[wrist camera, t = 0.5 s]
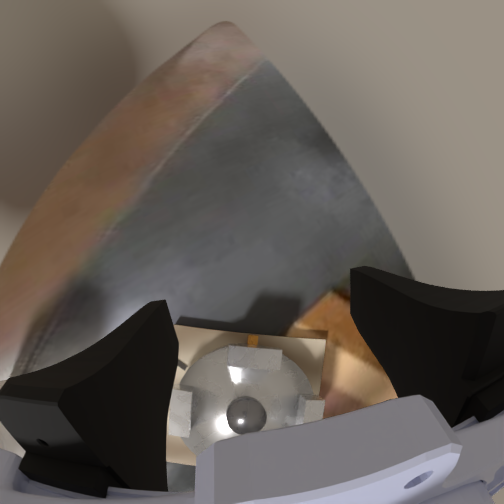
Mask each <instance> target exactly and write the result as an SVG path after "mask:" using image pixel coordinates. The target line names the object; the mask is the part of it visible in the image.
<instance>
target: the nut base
mask: <svg viewBox="0 0 504 504" xmlns="http://www.w3.org/2000/svg"><path fill="white" fill-rule="evenodd" d="M174 329H175V332H176V335H177V338H178V341H179V355H178V366H177V371H176V376H175V380H174V384H175V383H176V384H179V383H180V381H181V379H182V378H183V376H184V374H185V373H186V371H187V370H188V369H189V368H190V366H191V365H192V364H193V363H194V362H195V361H197V360H198V359H199V358H200V357H202V356H203V355H205V354H206V353H208V352H210V351H212V350H214V349H216V348H219V347H222V346H226V345H228V343H235V344H238V343H247V337H248V334H249V333H239V332H230V331H221V330H213V329H205V328H198V327H190V326H183V325H176V324H174ZM251 335H258V345H262V346H267V347H278V348H280V349H281V350H282V354H283V355H285V356H286V357H288V358H289V359H291V360H292V361H293V362H294V363H296V364H297V365H298V366H299V367H300V369H301V370H302V371H303V372H304V374H305V375H306V377H307V378H308V380H309V382H310V384H311V387H312V390H313V393H314V394H318V395H319V392H320V385H321V377H322V369H323V361H324V353H325V343H326V340H325V339H312V338H296V337H283V336H270V335H259V334H251ZM169 414H170V405H169V410H168V418H167V436H166V461H168V462H174V463H180V464H187V465H195V466H196V455H195V454H194V453H193V452H192V451H191V450H190V449H189V448H188V447H187V446H186V445H185V443H184V442H183V440H182V439H181V437H180V436H173V435H168V433H169Z"/></svg>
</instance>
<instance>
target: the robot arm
mask: <svg viewBox="0 0 504 504" xmlns="http://www.w3.org/2000/svg"><path fill="white" fill-rule="evenodd" d="M350 284H351V301H350V314H351V316H352V318H353V320H354V323H355V325H356V327H357V329H358V331H359V333H360V334H361V336H362V337H363V339H364V340H365V342H366V343H367V345H368V346H369V348H370V349H371V351H372V352H373V354H374V355H375V357H376V358H377V360H378V361H379V363H380V364H381V366H382V367H383V369H384V370H385V372H386V374H387V375H388V377H389V379H390V381H391V383H392V385H393V387H394V389H395V391H396V394H397V396H398V398H395V399H390V400H387V401H384V402H381V403H378V404H375V405H372V406H369V407H365V408H362V409H359V410H355V411H352V412H348V413H344V414H341V415H337V416H333V417H329V418H325V419H321V420H316V421H312V422H308V423H303V424H298V425H293V426H288V427H282V428H277V429H271V430H264V431H258V432H251V433H246V434H242V435H238V436H235V437H231V438H227V439H223V440H219V441H217V442H215V443H213V444H212V445H211V446H209V447H208V448H207V449H206V450H204V451H203V452H202V453H200V454H199V455H198V456H196V475H195V491H191V492H168V487H167V468H166V436H167V418H168V410H169V405H170V400H171V395H172V390H173V385H174V380H175V376H176V371H177V366H178V355H179V341H178V338H177V335H176V332H175V329H174V325H173V322H172V319H171V316H170V313H169V309H168V306H167V303H166V300H159V301H152V302H149V303H148V304H146V305H145V306H143V307H142V308H141V309H140V310H138V311H137V312H136V313H135V314H133V315H132V316H131V317H130V318H129V319H127V320H126V321H125V322H124V323H122V324H121V325H120V326H119V327H117V328H116V329H115V330H113V331H112V332H111V333H109V334H108V335H107V336H105V337H104V338H103V339H101V340H100V341H98V342H97V343H95V344H94V345H92V346H90V347H89V348H87V349H85V350H84V351H82V352H80V353H78V354H76V355H74V356H72V357H70V358H68V359H66V360H64V361H62V362H59V363H57V364H54V365H52V366H49V367H47V368H44V369H41V370H38V371H35V372H31V373H28V374H24V375H20V376H16V377H11V378H9V379H8V380H7V381H6V382H5V383H4V385H3V386H2V388H1V389H0V422H1V423H2V424H3V426H4V427H5V428H6V429H7V431H8V432H9V433H10V434H11V435H12V437H13V438H14V439H15V440H16V441H17V442H18V444H19V445H20V446H21V447H22V448H23V449H24V450H25V451H26V452H25V454H24V457H23V458H22V457H20V456H19V455H17V454H15V453H13V452H10V451H7V450H4V449H1V448H0V504H495V503H494V501H493V499H492V496H493V495H494V494H496V493H497V492H498V491H499V490H500V489H502V488H503V487H504V290H500V291H471V290H459V289H450V288H445V287H439V286H434V285H429V284H425V283H421V282H418V281H414V280H411V279H407V278H404V277H401V276H398V275H395V274H392V273H389V272H385V271H382V270H379V269H376V268H372V267H368V266H362V267H357V268H352V269H350Z"/></svg>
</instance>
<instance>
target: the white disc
mask: <svg viewBox="0 0 504 504" xmlns="http://www.w3.org/2000/svg"><path fill="white" fill-rule="evenodd" d="M324 406H325V400H324V399H323V398H322V397H320V396H319V395H318V394H314V393H313V390H312V387H311V384H310V382H309V380H308V378H307V377H306V375H305V374H304V372H303V371H302V370H301V369H300V367H299V366H298V365H297V364H296V363H294V362H293V361H292V360H291V359H289V358H288V357H286V356H285V355H283V354H282V350H281V349H280V348H278V347H267V346H262V345H258V335H251V334H248V337H247V343H238V344H235V343H228V345H226V346H222V347H219V348H216V349H214V350H212V351H210V352H208V353H206V354H205V355H203V356H202V357H200V358H199V359H198V360H197V361H195V362H194V363H193V364H192V365H191V366H190V368H189V369H188V370H187V371H186V373H185V374H184V376H183V378H182V379H181V381H180V383H179V384H176V383H175V384H174V385H173V390H172V395H171V400H170V414H169V433H168V435H173V436H180V437H181V439H182V440H183V442H184V443H185V445H186V446H187V447H188V448H189V449H190V450H191V451H192V452H193V453H194V454H195V455H196V456H198V455H199V454H200V453H202V452H203V451H204V450H206V449H207V448H208V447H209V446H211V445H212V444H213V443H215V442H217V441H219V440H223V439H227V438H231V437H235V436H238V435H242V434H246V433H251V432H258V431H264V430H271V429H277V428H282V427H288V426H293V425H298V424H303V423H308V422H312V421H316V420H321V419H322V418H323V412H324Z"/></svg>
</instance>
